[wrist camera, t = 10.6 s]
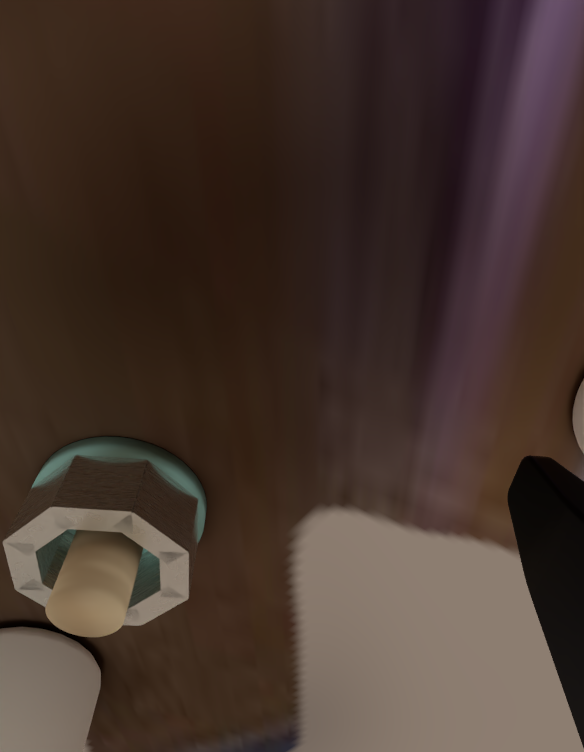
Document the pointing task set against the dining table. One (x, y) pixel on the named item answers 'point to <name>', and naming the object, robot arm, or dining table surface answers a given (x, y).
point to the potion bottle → (45, 691)
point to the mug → (579, 416)
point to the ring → (108, 529)
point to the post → (106, 546)
